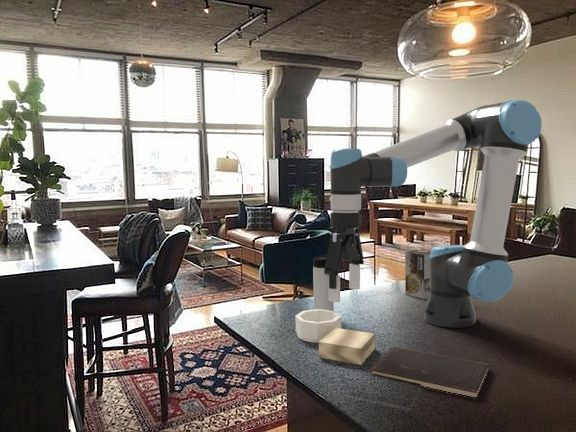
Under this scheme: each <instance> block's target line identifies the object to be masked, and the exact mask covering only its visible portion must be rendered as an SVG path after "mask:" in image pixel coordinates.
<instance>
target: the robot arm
mask: <svg viewBox="0 0 576 432" xmlns="http://www.w3.org/2000/svg"><path fill="white" fill-rule="evenodd" d="M542 127H543V123H542V118H541V115H540V113H539V111H538V110H537V108H536V107H535V105H534V104H532V103H531V102H529V101H527V100H525V99H524V100H523V99H517V100H512V99H510V100H507V101H502V102H499V103H498V102H497V103H493V104H486V105H485V104H484V105H482V106H479V107H478V106H477V107H476V108H473V109H472V110H470V111H469V110H468V111H467V112H465V113H462V114H460V115H458V116H456V117H454V118H451V119H448V120H446V122H444V125H443V126H440V127H437V128H434V129H432V130H429V131H426V132H423V133H421V134H418V135H416V136H414V137H411V138H408V139H405V140H403V141H399V142H397V143H395V144H394V143H393V144H391V145H389V146H387V147H385V148H381V149H379V150H376V151H374V152H371V153H367V154H365V155H362V150H361V149H360V148H335V149H333V150H332V151H331V155H330V156H331V157H330V166H329V169H330V197H329V199H328V200H329V201H330V209H331V212H330V213H329V214H330V216H329V217H330V219H329V220H330V223H329V224H330V226H331V227H332V228H335V232H331V233H330V234H329V245H328V250H327V254H326V255H327V259H326V264H325V269H324V274H326V275H329V277H328V301H333V302H334V303H340V302H341V274H339V273H340V271H341V270H340V269H341V267H342V263H343V260H344V256H345V253H346V252H347V256H348V259H349V261H350V263H349V264H348V265H349V266H348V267H349V269H348V271H349V272H348V279H349V281H348V282H349V283H348V288H349V289H353V290H360V289H361V265H364V261H365V260H364V253H363V248H362V247H363V246H362V241H361V237H360V234H361V233H360V227H361V224H362V223H361V221H362V216H361V215H362V213H360V212H359V211H360V210H362V188H367V187H369V188H370V187H371V188H381V187H382V188H383V187H385V188H386V187H390V188H393V187H401V186H403V185H404V184H405V182H406V180H407V178H408V168H410V167H412V166H415V165H418V164H421V163H422V162H426V161H428V160H430V159H433V158H436V157H439V156H440V155H443V154H444V155H445V154H446V153H448V152H452V151H455V152H461V151H464V150H466V149H471V148H478V147H480V151H481V153H482V154H484V161H483V166H482V172H481V177H480V183H479V187H478V188H479V189H478V194H477V199H476V200H477V201H476V206H475V211H474V217H473V222H472V228H471V233H470V239H469V241H468V242H467V243H466V244H464V245H463V244H453V245H452V244H451V245H450V244H449V245H448V244H447V245H438V246H434V247H432V248H431V249H430V252H431V253H430V295H429V298H427V301H426V304H425V307H424V310H423V319H424V321H425V322H426V323H429V324H431V325H434V326H437V327H443V328H452V329H455V328H456V329H460V328H469V327H472V326H474V325H475V324H476V322H477V314H476V311H475V307H474V304H473V302H472V298H473V299H475V300H479V301H483V302H487V303H491V302H496V301H499V300H501V299H502V298H503V297H505V296H506V295H507V294H508V293H509V292H510V290H511V288H512V286H513V283H514V280H515V279H514V278H515V276H514V271H513V270H512V267H511V266H510V264H509V263H508V257H509V253H508V252H507V251H506V250H505V247H504V243H505V239H506V235H507V228H508V223H509V218H510V211H511V206H512V201H513V195H514V190H515V184H516V179H517V172H518V169H519V162H520V160H521V159H522V158H523V157H524V156H526V155H527V153H528V149H529V145H530V144H532V143H533V142H535V141H536V139H538V138H539V136H540V135H541V132H542Z"/></svg>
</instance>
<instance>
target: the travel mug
mask: <svg viewBox="0 0 576 432" xmlns="http://www.w3.org/2000/svg"><path fill="white" fill-rule="evenodd" d="M326 259H327V254H326V255H319V256H316V257H314V258H313V260H312V263H313V264H312V268H313V269H312V272H313V273H312V274H313V275H312V277H313V278H312V280H313V281H312V283H313V310H314V309H323V310H331V311H335V310H334V309H335V307H334V306H335V305H334V304H335V302H333V301H328V277H329V275H326V274H324V269H325V264H326Z"/></svg>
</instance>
